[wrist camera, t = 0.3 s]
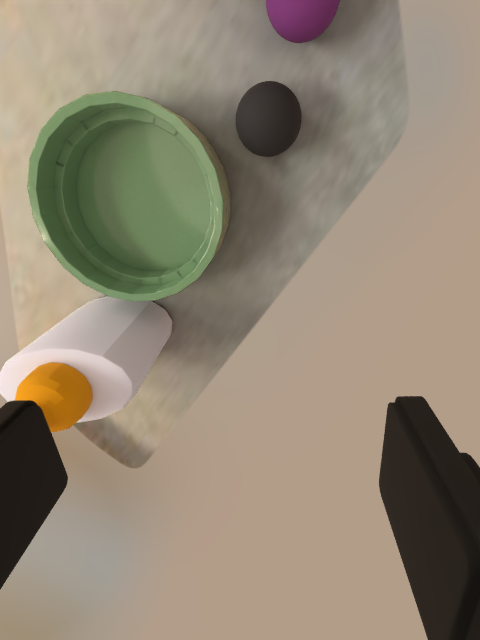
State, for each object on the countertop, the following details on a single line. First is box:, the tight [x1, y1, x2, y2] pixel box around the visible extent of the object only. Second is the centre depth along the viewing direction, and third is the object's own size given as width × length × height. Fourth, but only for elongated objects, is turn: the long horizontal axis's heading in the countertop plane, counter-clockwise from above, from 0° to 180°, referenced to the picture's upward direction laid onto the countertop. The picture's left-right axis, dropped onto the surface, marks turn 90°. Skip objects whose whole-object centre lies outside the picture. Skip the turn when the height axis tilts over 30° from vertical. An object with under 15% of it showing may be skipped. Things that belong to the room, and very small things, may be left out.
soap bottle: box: [0, 296, 172, 432], centre depth 33 cm, size 13×8×20 cm, turn 98°
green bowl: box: [27, 91, 230, 302], centre depth 33 cm, size 18×18×6 cm
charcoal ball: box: [236, 81, 301, 157], centre depth 30 cm, size 6×6×6 cm
